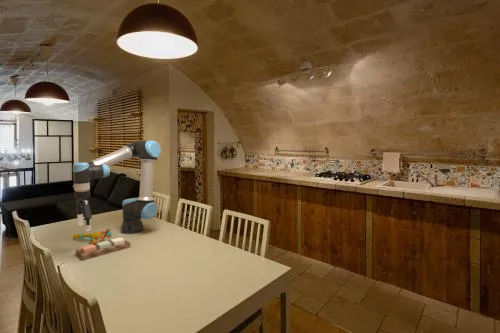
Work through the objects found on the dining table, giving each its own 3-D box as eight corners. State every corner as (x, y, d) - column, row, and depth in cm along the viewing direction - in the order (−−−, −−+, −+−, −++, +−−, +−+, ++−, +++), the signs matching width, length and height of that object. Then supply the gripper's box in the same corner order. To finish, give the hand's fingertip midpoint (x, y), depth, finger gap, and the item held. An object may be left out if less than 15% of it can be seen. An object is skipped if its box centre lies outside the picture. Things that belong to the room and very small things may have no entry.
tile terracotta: (92, 248, 163) (92, 244, 163) (96, 250, 159) (96, 246, 159) (81, 251, 159) (80, 246, 159) (84, 254, 155) (84, 249, 155)
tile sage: (107, 244, 169) (107, 240, 169) (111, 247, 165) (111, 243, 165) (96, 247, 165) (96, 243, 164) (100, 249, 161) (100, 245, 160)
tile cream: (120, 240, 175) (120, 237, 175) (124, 243, 171) (124, 239, 170) (110, 243, 170) (110, 239, 170) (114, 246, 166) (114, 242, 166)
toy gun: (95, 239, 166) (110, 225, 179) (57, 243, 171) (75, 229, 185) (101, 251, 169) (115, 236, 182) (63, 254, 174) (80, 239, 188)
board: (122, 242, 178) (122, 238, 178) (130, 247, 170) (130, 243, 170) (75, 254, 160) (75, 250, 159) (82, 260, 151) (82, 255, 151)
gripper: (68, 188, 162) (70, 224, 164) (81, 194, 144) (83, 234, 146) (83, 187, 167) (84, 222, 169) (97, 192, 150) (98, 231, 152)
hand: (84, 228), depth 158 cm, fingers open, 13 cm apart
